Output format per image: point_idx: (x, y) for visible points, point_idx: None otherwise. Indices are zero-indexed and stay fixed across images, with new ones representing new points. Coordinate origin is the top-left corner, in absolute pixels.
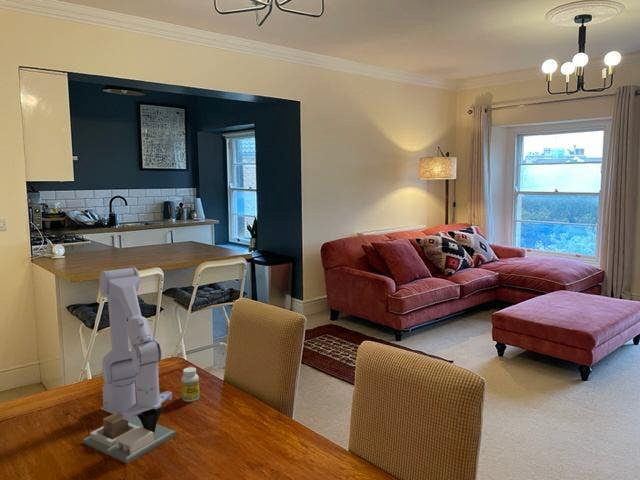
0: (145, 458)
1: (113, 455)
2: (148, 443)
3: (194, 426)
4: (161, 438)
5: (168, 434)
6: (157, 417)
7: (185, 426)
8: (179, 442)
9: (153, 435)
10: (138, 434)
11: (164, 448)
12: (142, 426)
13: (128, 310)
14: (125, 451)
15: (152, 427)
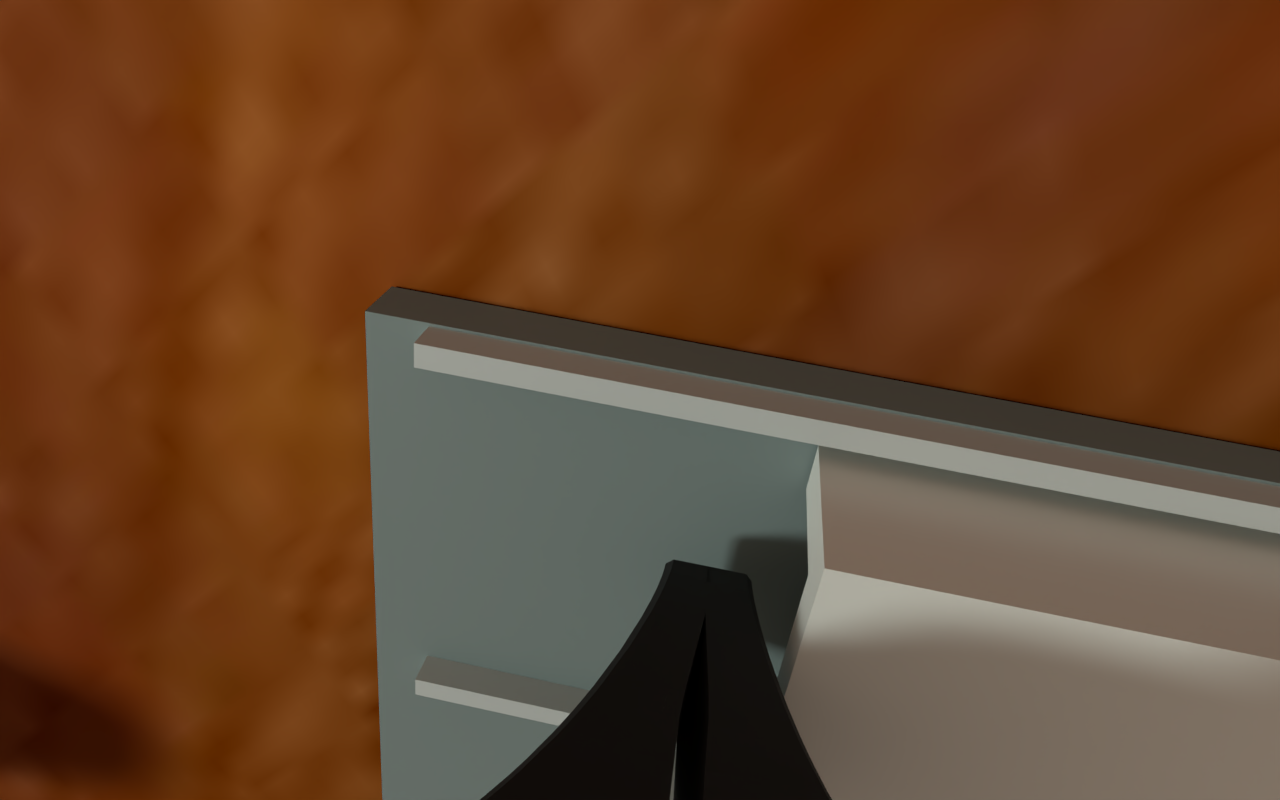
0: (1211, 316)
1: None
2: (944, 489)
3: (37, 174)
4: (696, 392)
5: (533, 360)
6: (579, 785)
7: (138, 311)
8: (541, 81)
9: (830, 525)
10: (989, 752)
11: (817, 211)
12: None
13: None
14: None
15: (726, 669)
